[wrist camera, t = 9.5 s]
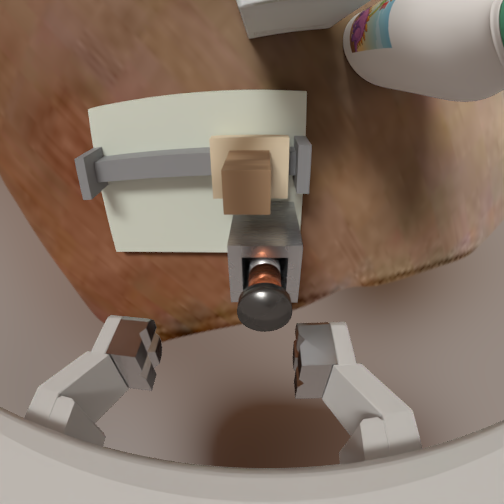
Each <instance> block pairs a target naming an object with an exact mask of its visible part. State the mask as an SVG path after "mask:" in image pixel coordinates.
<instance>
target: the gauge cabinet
mask: <svg viewBox="0 0 504 504" xmlns="http://www.w3.org/2000/svg"><path fill="white" fill-rule="evenodd" d="M227 252H228V266H229V280H230V293H231V302H238V300H239V296H240V294H241V293H242V292H243V290H245V289H246V288H247V287H248V282H249V267H250V258H279V259H280V274H281V287H282V288H284V289H285V290H286V291H287V292H288V293H289V295H290V298H291V302H298V293H299V283H300V274H301V263H302V253H303V243H302V238H301V233H300V229H299V224H298V219H297V214H296V210H295V205H294V202H281V201H271V205H270V215H233V218H232V223H231V228H230V233H229V238H228V244H227Z"/></svg>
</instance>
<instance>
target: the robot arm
mask: <svg viewBox="0 0 504 504" xmlns="http://www.w3.org/2000/svg"><path fill="white" fill-rule="evenodd" d="M155 330H156V325H155V322H154V320H152V319H144V318H134V317H126V316H115V315H111V316H109V317H108V318H107V320H106V322H105V324H104V326H103V328H102V330H101V332H100V334H99V336H98V338H97V340H96V342H95V344H94V347H93V348H92V351H91V352H90V351H87V352H86V353H84V354H83V355H81V356H80V357H79V358H77V359H76V360H75V361H73V362H72V363H70V364H69V365H68V366H66V367H65V368H63V369H62V370H61V371H59V372H58V373H57V374H55V375H54V376H52V377H51V378H50V379H48V380H47V381H46V382H44V383H43V384H42V385H40V386H39V387H38V389H37V391H36V393H35V395H34V398H33V400H32V402H31V404H30V406H29V408H28V411H27V413H26V415H25V418H23V417H20V416H18V415H16V414H14V413H12V412H10V411H8V410H6V409H4V408H1V407H0V504H504V420H503V421H501V422H498V423H496V424H494V425H491V426H489V427H487V428H484V429H481V430H479V431H476V432H473V433H471V434H468V435H465V436H462V437H460V438H456V439H454V440H451V441H447V442H444V443H441V444H438V445H434V446H430V447H427V448H423V449H422V445H421V441H420V437H419V433H418V429H417V425H416V421H415V418H414V414H413V411H412V409H410V408H409V407H408V406H407V405H406V404H405V403H404V402H403V401H402V400H401V399H400V398H399V397H397V396H396V395H395V394H394V393H393V392H392V391H391V390H390V389H389V388H387V387H386V386H385V385H384V384H383V383H382V382H381V381H380V380H379V379H378V378H377V377H376V376H375V375H373V374H372V373H371V372H370V371H369V370H368V369H367V368H366V367H365V366H364V365H363V364H361V363H356V359H355V355H354V350H353V346H352V343H351V339H350V335H349V331H348V327H347V324H346V323H345V322H330V323H328V322H325V323H297V325H296V329H295V336H296V340H295V341H294V345H293V369H294V370H295V379H294V387H295V398H322V400H323V401H324V402H325V404H326V405H327V406H328V408H329V409H330V410H331V411H332V413H333V414H334V415H335V416H336V418H337V419H338V420H339V422H340V423H341V424H342V425H343V427H344V428H345V429H346V430H347V432H348V433H349V434H350V435H351V437H350V439H349V440H348V442H347V443H346V444H345V446H344V447H343V448H342V450H341V451H340V453H339V456H340V464H338V465H328V466H318V467H303V468H267V469H266V468H265V469H264V468H233V467H232V468H231V467H218V466H207V465H197V464H189V463H181V462H175V461H168V460H162V459H156V458H151V457H146V456H141V455H136V454H132V453H127V452H123V451H119V450H115V449H111V448H107V447H103V444H104V441H105V434H104V433H103V432H102V431H101V430H100V428H99V427H97V425H96V424H95V423H96V422H97V421H98V420H99V419H100V418H101V417H102V416H103V415H104V414H105V413H106V412H107V411H108V410H109V409H110V408H111V407H112V405H114V404H115V403H116V402H117V401H118V400H119V398H121V396H123V395H124V393H125V392H126V391H127V390H128V388H133V389H141V390H150V391H152V388H153V385H154V382H155V378H156V372H155V370H154V368H155V367H156V366H157V365H158V364H159V363H160V360H161V356H162V344H161V339H160V337H159V336H158V335H157V334H156V333H155Z"/></svg>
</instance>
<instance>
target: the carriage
mask: <svg viewBox="0 0 504 504" xmlns="http://www.w3.org/2000/svg"><path fill="white" fill-rule="evenodd" d="M289 139H290V138H289V136H288V135H216V136H211V137H210V138H209V143H210V159H211V175H212V189H213V199H223V211H224V215H270V205H271V198H279V199H288V174H289Z"/></svg>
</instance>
